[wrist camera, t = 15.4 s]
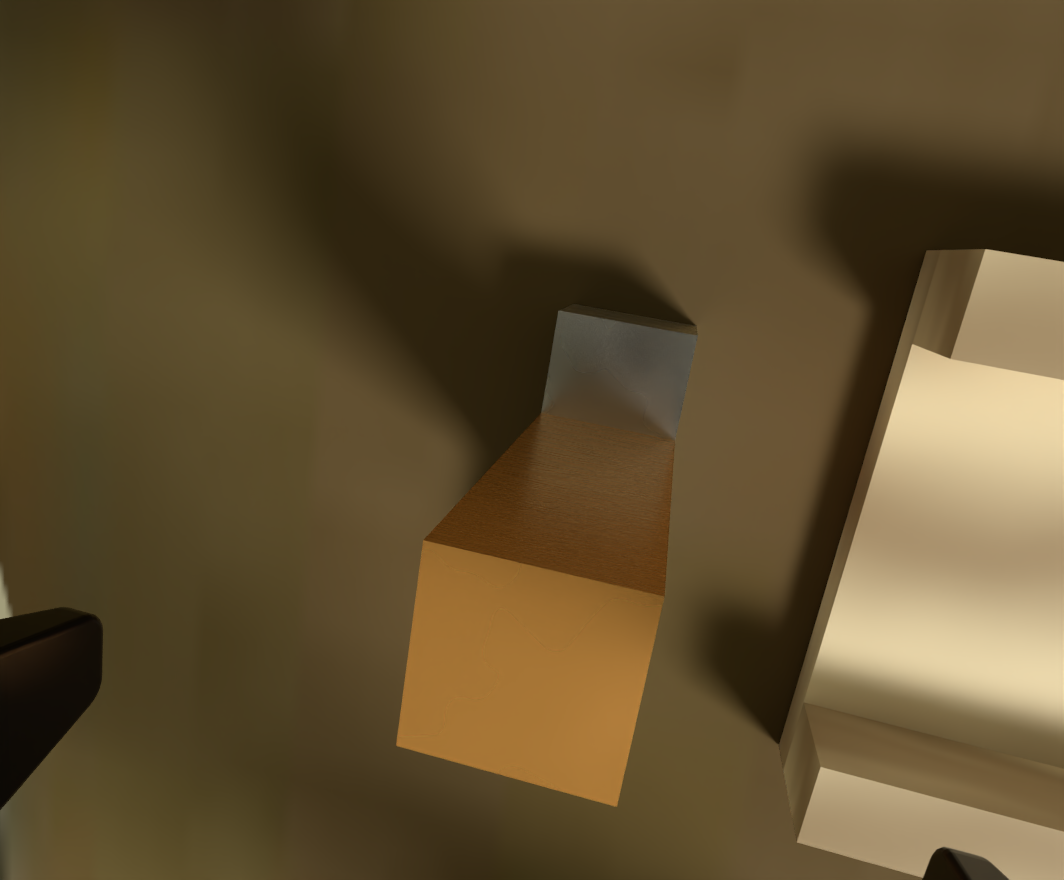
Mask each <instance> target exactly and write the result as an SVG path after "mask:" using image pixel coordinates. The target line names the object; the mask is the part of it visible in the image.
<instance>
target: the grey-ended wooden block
mask: <svg viewBox="0 0 1064 880" xmlns="http://www.w3.org/2000/svg"><path fill="white" fill-rule="evenodd" d="M697 336H698V335H697V327H696V326H695V325H689V324H684V323H678V322H672V321H667V320H661V319H656V318H650V317H645V316H639V315H634V314H628V313H622V312H617V311H611V310H606V309H600V308H595V307H589V306H584V305H578V304H573V305H570V306H568V307H566V308H563V309H561V310H559V311H558V317H557V322H556V328H555V334H554V340H553V346H552V352H551V358H550V364H549V370H548V376H547V382H546V388H545V394H544V400H543V406H542V412H541V414H540V415H539V416H538V417H537V418H536V419H535V420H534V421H533V422H532V424H531V425H530V426H529V427H528V428H527V429H526V430H525V431H524V432H523V433H522V434H521V435H520V436H519V438H518V439H517V440H516V441H515V442H514V443H513V444H512V445H511V446H510V447H509V448H508V449H507V451H506V452H505V453H504V454H503V455H502V456H501V457H500V458H499V459H498V460H497V461H496V462H495V463H494V465H493V466H492V467H491V468H490V469H489V470H488V471H487V472H486V473H485V474H484V475H483V476H482V477H481V479H480V480H479V481H478V482H477V483H476V484H475V485H474V486H473V487H472V488H471V489H470V490H469V492H468V493H467V494H466V495H465V496H464V497H463V498H462V499H461V500H460V501H459V502H458V503H457V504H456V506H455V507H454V508H453V509H452V510H451V511H450V512H449V513H448V514H447V515H446V516H445V517H444V519H443V520H442V521H441V522H440V523H439V524H438V525H437V526H436V527H435V528H434V529H433V530H432V531H431V533H430V534H429V535H428V536H427V537H426V538H425V539H424V540H423V547H422V554H421V562H420V569H419V577H418V584H417V592H416V600H415V607H414V615H413V622H412V630H411V637H410V645H409V653H408V660H407V668H406V675H405V683H404V690H403V698H402V706H401V713H400V721H399V728H398V736H397V743H396V746H399V747H403V748H406V749H410V750H413V751H417V752H421V753H424V754H428V755H431V756H435V757H439V758H442V759H446V760H449V761H453V762H457V763H460V764H464V765H467V766H471V767H475V768H478V769H482V770H485V771H489V772H493V773H496V774H500V775H503V776H507V777H511V778H514V779H518V780H522V781H525V782H529V783H532V784H536V785H540V786H543V787H547V788H550V789H554V790H558V791H561V792H565V793H568V794H572V795H576V796H579V797H583V798H586V799H590V800H594V801H597V802H601V803H604V804H608V805H612V806H615V807H617V803H618V799H619V795H620V790H621V786H622V781H623V777H624V773H625V768H626V764H627V759H628V755H629V751H630V746H631V742H632V737H633V733H634V729H635V724H636V720H637V715H638V711H639V707H640V702H641V698H642V693H643V689H644V685H645V680H646V676H647V671H648V667H649V663H650V658H651V654H652V649H653V645H654V640H655V636H656V632H657V627H658V623H659V618H660V614H661V610H662V605H663V601H664V596H665V581H666V566H667V551H668V536H669V521H670V506H671V491H672V476H673V461H674V446H675V437H676V433H677V428H678V424H679V419H680V414H681V410H682V405H683V401H684V396H685V391H686V387H687V382H688V378H689V373H690V369H691V364H692V359H693V355H694V350H695V346H696V341H697Z"/></svg>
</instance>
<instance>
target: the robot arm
mask: <svg viewBox="0 0 1064 880" xmlns="http://www.w3.org/2000/svg"><path fill="white" fill-rule="evenodd" d="M102 648H103V627H102V623H101V621H100V619H99V618H98V617H97V616H95V615H93V614H90V613H86V612H83V611H79V610H75V609H72V608H66V607H60V608H54V609H49V610H44V611H39V612H34V613H29V614H24V615H19V616H14V617H9V618H5V619H0V810H1V808H2V807H3V806H4V805H5V804H6V803H7V802H8V801H9V800H10V798H11V797H12V796H13V795H14V794H15V793H16V791H17V790H18V789H19V788H20V787H21V786H22V784H23V783H24V782H25V781H26V780H27V778H28V777H29V776H30V775H31V774H32V773H33V771H34V770H35V769H36V768H37V767H38V766H39V764H40V763H41V762H42V761H43V760H44V759H45V757H46V756H47V755H48V754H49V753H50V751H51V750H52V749H53V748H54V747H55V746H56V744H57V743H58V742H59V741H60V740H61V739H62V737H63V736H64V735H65V734H66V733H67V731H68V730H69V729H70V728H71V727H72V726H73V724H74V723H75V722H76V721H77V720H78V719H79V717H80V716H81V715H82V714H83V713H84V712H85V710H86V709H87V708H88V707H89V706H90V704H91V703H92V702H93V700H94V699H95V697H96V695H97V693H98V691H99V689H100V685H101V681H102ZM922 880H1009V879H1008V878H1007V877H1006V876H1005V875H1004V874H1003V873H1002V872H1001V871H1000V870H999V869H998V868H996V867H995V866H994V865H993V864H992V863H991V862H990V861H989V860H987V859H986V858H984V857H981V856H978V855H975V854H971V853H967V852H964V851H960V850H956V849H953V848H949V847H941V848H939V849H937V850H936V851H935V852H934V853H933V854H932V856H931V858H930V860H929V863H928V866H927V868H926V871H925V874H924V876H923V879H922Z"/></svg>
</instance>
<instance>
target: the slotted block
mask: <svg viewBox="0 0 1064 880" xmlns="http://www.w3.org/2000/svg"><path fill="white" fill-rule="evenodd" d="M779 750H780V756H781V761H782V766H783V772H784V777H785V782H786V788H787V793H788V798H789V804H790V809H791V814H792V820H793V825H794V830H795V836H796V841H797V842H798V843H802V844H805V845H809V846H812V847H816V848H819V849H823V850H826V851H830V852H834V853H837V854H841V855H844V856H848V857H851V858H855V859H858V860H862V861H865V862H869V863H873V864H876V865H880V866H883V867H887V868H890V869H894V870H897V871H901V872H904V873H908V874H912V875H915V876H919V877H922V878H923V876H924V874H925V871H926V868H927V866H928V863H929V860H930V858H931V856H932V854H933V853H934V852H935V851H936V850H937V849H939V848H941V847H949V848H953V849H956V850H960V851H964V852H967V853H971V854H975V855H978V856H981V857H984V858H986V859H987V860H989V861H990V862H991V863H992V864H993V865H994V866H995V867H996V868H998V869H999V870H1000V871H1001V872H1002V873H1003V874H1004V875H1005V876H1006V877H1007V878H1008V879H1009V880H1064V262H1061V261H1055V260H1049V259H1043V258H1037V257H1031V256H1025V255H1019V254H1013V253H1006V252H1000V251H994V250H988V249H965V250H926V254H925V257H924V260H923V264H922V267H921V270H920V274H919V277H918V281H917V284H916V287H915V291H914V294H913V297H912V301H911V304H910V307H909V311H908V314H907V317H906V321H905V324H904V327H903V331H902V334H901V338H900V341H899V344H898V348H897V351H896V354H895V358H894V361H893V364H892V368H891V371H890V374H889V378H888V381H887V384H886V388H885V391H884V395H883V398H882V401H881V405H880V408H879V411H878V415H877V418H876V421H875V425H874V428H873V431H872V435H871V438H870V441H869V445H868V448H867V452H866V455H865V458H864V462H863V465H862V468H861V472H860V475H859V478H858V482H857V485H856V488H855V492H854V495H853V498H852V502H851V505H850V509H849V512H848V515H847V519H846V522H845V525H844V529H843V532H842V535H841V539H840V542H839V545H838V549H837V552H836V555H835V559H834V562H833V565H832V569H831V572H830V576H829V579H828V582H827V586H826V589H825V592H824V596H823V599H822V602H821V606H820V609H819V612H818V616H817V619H816V622H815V626H814V629H813V633H812V636H811V639H810V643H809V646H808V649H807V653H806V656H805V659H804V663H803V666H802V669H801V673H800V676H799V679H798V683H797V686H796V690H795V693H794V696H793V700H792V703H791V706H790V710H789V713H788V716H787V720H786V723H785V726H784V730H783V733H782V736H781V740H780V743H779Z"/></svg>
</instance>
